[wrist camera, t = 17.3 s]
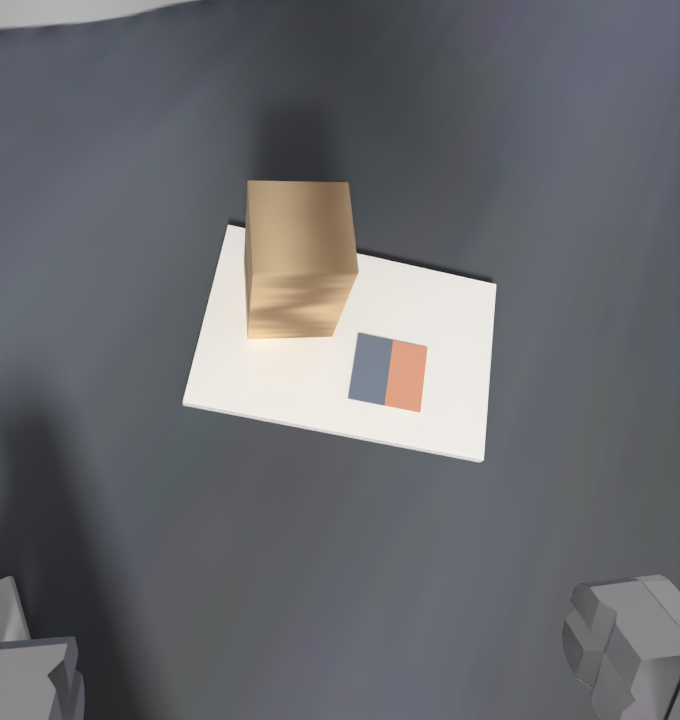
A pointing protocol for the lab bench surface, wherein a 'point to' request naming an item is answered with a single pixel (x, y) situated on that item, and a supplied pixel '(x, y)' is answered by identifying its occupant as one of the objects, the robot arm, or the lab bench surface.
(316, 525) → the lab bench surface
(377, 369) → the plate
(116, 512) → the lab bench surface
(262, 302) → the oak block
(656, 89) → the lab bench surface
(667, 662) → the robot arm
